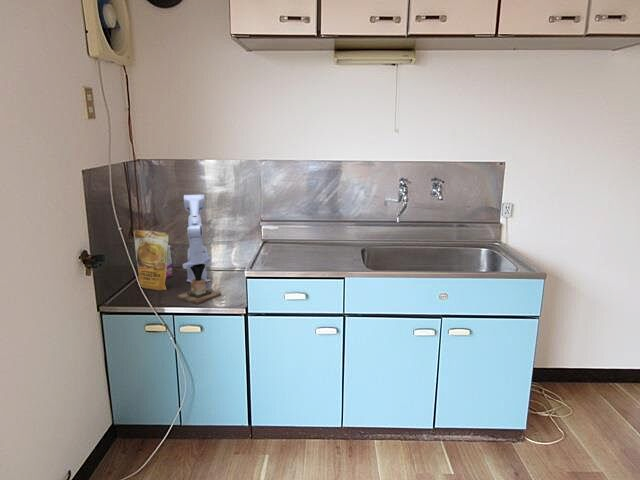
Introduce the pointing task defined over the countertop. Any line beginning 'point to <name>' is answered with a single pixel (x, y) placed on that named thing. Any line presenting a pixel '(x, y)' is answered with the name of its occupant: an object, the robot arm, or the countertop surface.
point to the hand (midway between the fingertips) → (198, 280)
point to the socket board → (199, 296)
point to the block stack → (198, 286)
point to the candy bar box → (169, 264)
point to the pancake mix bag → (151, 258)
